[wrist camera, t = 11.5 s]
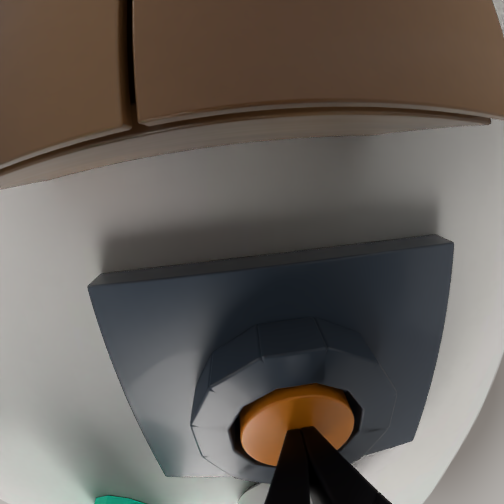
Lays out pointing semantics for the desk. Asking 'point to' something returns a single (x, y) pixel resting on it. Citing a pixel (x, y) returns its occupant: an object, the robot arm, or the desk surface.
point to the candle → (115, 500)
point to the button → (294, 418)
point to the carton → (129, 99)
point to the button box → (275, 344)
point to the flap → (315, 56)
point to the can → (257, 494)
